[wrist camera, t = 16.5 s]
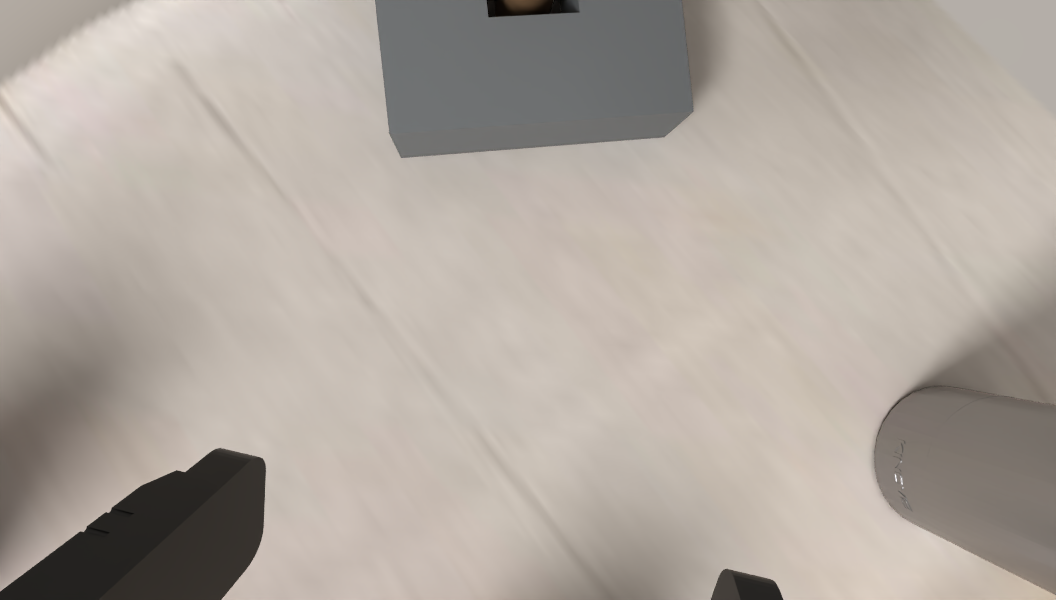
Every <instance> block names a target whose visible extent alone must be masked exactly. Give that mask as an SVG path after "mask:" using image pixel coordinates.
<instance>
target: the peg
mask: <svg viewBox="0 0 1056 600" xmlns="http://www.w3.org/2000/svg"><path fill="white" fill-rule="evenodd" d="M552 4H553V0H496V9H495V17H505V16H524V15H542V14H550V12H551V8H552Z"/></svg>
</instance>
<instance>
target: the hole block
mask: <svg viewBox="0 0 1056 600" xmlns="http://www.w3.org/2000/svg"><path fill="white" fill-rule="evenodd" d="M375 4H376V13H377V22H378V32H379V41H380V50H381V60H382V69H383V78H384V87H385V97H386V106H387V115H388V125H389V134H390V136H391V138H392V140H393V142H394V144H395V146H396V148H397V150H398V152H399V154H400V156H401V158H405V157H418V156H431V155H444V154H456V153H469V152H482V151H494V150H507V149H520V148H533V147H545V146H558V145H571V144H583V143H596V142H609V141H621V140H634V139H647V138H660V137H665V136H666V135H667V134H668V133H669V132H671V131H672V130H673V129H674V128H675V127H676V126H677V125H679V124H680V123H681V122H682V121H683V120H684V119H685V118H687V117H688V116H689V115H690V114H691V113H692V112H693V101H692V92H691V82H690V73H689V63H688V54H687V44H686V35H685V25H684V16H683V6H682V0H560V8H561V14H542V15H524V16H505V17H488V10H487V0H375Z"/></svg>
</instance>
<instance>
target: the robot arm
mask: <svg viewBox="0 0 1056 600" xmlns="http://www.w3.org/2000/svg"><path fill="white" fill-rule="evenodd" d="M875 472H876V476H877V481H878V484H879V486H880V489H881V491H882V493H883V496H884V497H885V499H886V500H887V501H888V503H889V504H890V506H891V507H892V508H893V509H894V510H895V511H896V512H897V513H898V514H899V515H900V516H902V517H903V518H905V519H906V520H908V521H910V522H912V523H913V524H915V525H917V526H919V527H921V528H923V529H925V530H927V531H929V532H931V533H933V534H935V535H937V536H939V537H941V538H943V539H945V540H947V541H949V542H951V543H953V544H955V545H957V546H959V547H961V548H963V549H965V550H967V551H969V552H971V553H973V554H975V555H977V556H979V557H981V558H983V559H985V560H987V561H989V562H991V563H993V564H995V565H997V566H999V567H1001V568H1003V569H1005V570H1007V571H1009V572H1011V573H1013V574H1015V575H1017V576H1019V577H1021V578H1023V579H1025V580H1027V581H1029V582H1031V583H1033V584H1035V585H1037V586H1039V587H1041V588H1043V589H1045V590H1047V591H1049V592H1051V593H1053V594H1055V595H1056V405H1051V404H1046V403H1040V402H1034V401H1028V400H1023V399H1017V398H1013V397H1007V396H1001V395H995V394H990V393H984V392H978V391H972V390H967V389H961V388H955V387H946V386H936V387H928V388H925V389H922V390H919V391H916V392H914V393H912V394H911V395H909V396H907V397H906V398H904V399H903V400H901V401H900V402H899V403H898V404H897V405H896V406H895V407H894V408H893V409H892V410H891V412H890V413H889V415H888V416H887V418H886V419H885V421H884V422H883V424H882V427H881V429H880V432H879V434H878V437H877V442H876V447H875ZM265 476H266V466H265V462H264V460H263V459H262V458H260V457H256V456H252V455H248V454H243V453H239V452H235V451H231V450H226V449H222V448H219V449H215V450H213V451H212V452H210V453H209V454H208V455H206V456H205V457H204V458H203V459H201V460H200V461H199V462H198V463H196V464H195V465H194V466H193V467H191V468H190V469H189V470H188V471H186V472H181V471H177V470H176V471H174V472H172V473H170V474H167V475H165V476H163V477H160V478H158V479H156V480H154V481H151V482H149V483H147V484H144V485H142V486H140V487H139V488H138V489H136V490H135V491H134V492H132V493H131V494H130V495H128V496H127V497H126V498H124V499H123V500H122V501H120V502H119V503H118V504H116V505H115V506H114V507H112V510H111V511H110V513H107V512H106V513H104V514H103V515H102V516H100V517H99V518H98V519H96V520H95V521H94V522H92V523H91V524H90V525H88V526H87V528H86V530H85V531H84V532H79V533H78V534H76V535H75V536H74V537H72V538H71V539H70V540H68V541H67V542H66V543H64V544H63V545H62V546H60V547H59V548H58V549H56V550H55V551H54V552H52V553H51V554H50V555H48V556H47V557H46V558H44V559H43V560H42V561H40V562H39V563H38V564H36V565H35V566H34V567H32V568H31V569H30V570H28V571H27V572H26V573H24V574H23V575H22V576H20V577H19V578H18V579H16V580H15V581H14V582H12V583H11V584H10V585H8V586H7V587H6V588H4V589H3V590H2V591H0V600H221V599H222V598H223V597H224V596H225V594H226V593H227V592H228V591H229V590H230V588H231V587H232V586H233V585H234V583H235V582H236V581H237V580H238V579H239V577H240V576H241V575H242V574H243V573H244V571H245V570H246V569H247V568H248V566H249V565H250V563H251V562H252V560H253V558H254V556H255V554H256V552H257V550H258V547H259V545H260V542H261V539H262V534H263V527H264V501H265ZM711 600H783V598H782V595H781V593H780V590H779V588H778V586H777V584H776V583H775V582H774V581H773V580H771V579H767V578H763V577H759V576H755V575H750V574H746V573H742V572H738V571H733V570H729V569H725V570H723V571H722V572H721V574H720V576H719V578H718V581H717V584H716V586H715V589H714V592H713V595H712V598H711Z"/></svg>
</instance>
